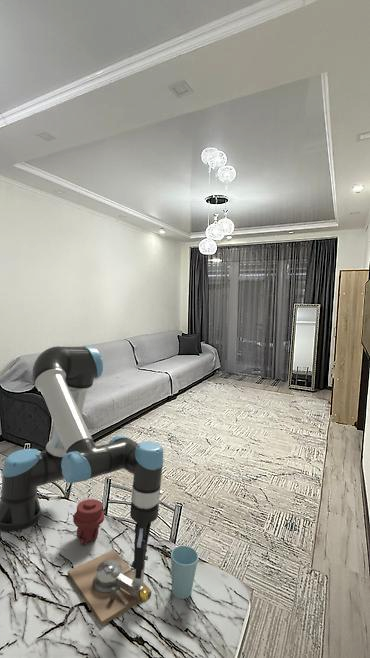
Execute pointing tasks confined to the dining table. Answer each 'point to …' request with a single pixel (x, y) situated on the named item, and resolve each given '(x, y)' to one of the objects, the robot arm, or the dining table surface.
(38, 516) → the robot arm
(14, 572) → the dining table surface
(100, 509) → the mechanical component
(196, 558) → the cup
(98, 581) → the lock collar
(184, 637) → the dining table surface
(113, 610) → the post board
